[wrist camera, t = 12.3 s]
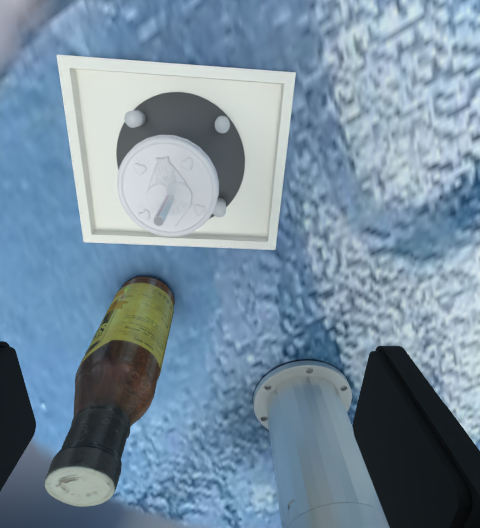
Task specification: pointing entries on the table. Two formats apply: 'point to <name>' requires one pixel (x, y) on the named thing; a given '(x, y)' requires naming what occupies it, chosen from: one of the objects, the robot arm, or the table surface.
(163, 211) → the smoothie
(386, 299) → the table surface
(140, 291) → the sauce bottle
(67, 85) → the pin tray
